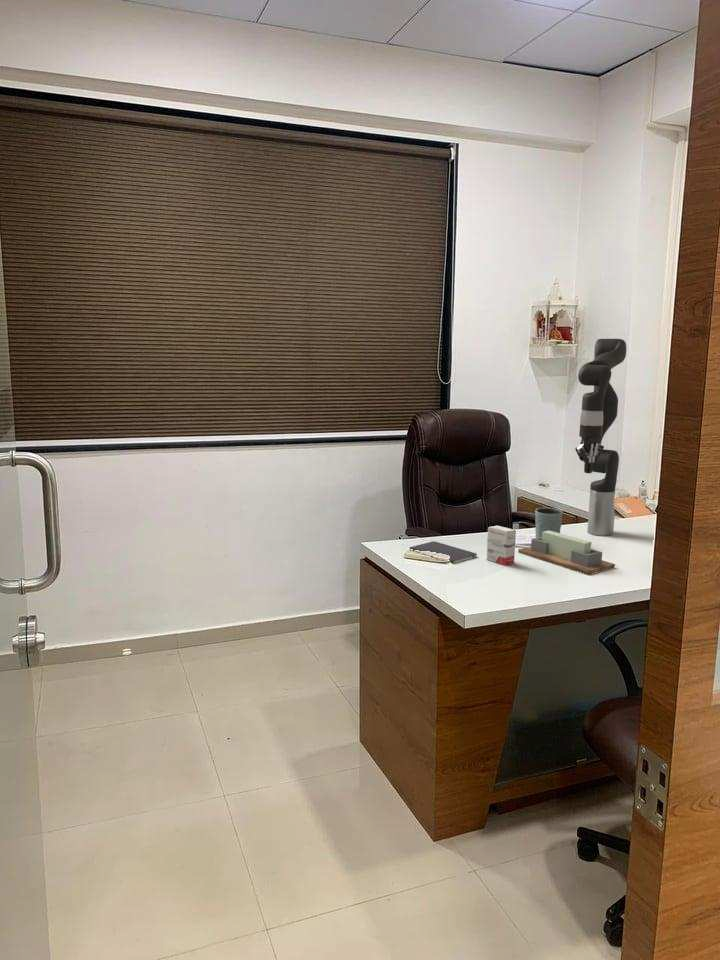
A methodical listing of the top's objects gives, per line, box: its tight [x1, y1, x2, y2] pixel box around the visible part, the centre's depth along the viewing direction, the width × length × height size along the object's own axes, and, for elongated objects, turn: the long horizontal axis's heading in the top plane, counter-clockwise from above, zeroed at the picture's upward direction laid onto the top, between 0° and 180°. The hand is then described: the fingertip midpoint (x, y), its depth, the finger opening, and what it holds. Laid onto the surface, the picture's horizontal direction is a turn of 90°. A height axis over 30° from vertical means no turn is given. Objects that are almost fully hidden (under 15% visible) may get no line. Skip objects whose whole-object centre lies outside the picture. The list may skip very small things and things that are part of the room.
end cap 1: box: [530, 537, 549, 554], centre depth 248 cm, size 7×7×4 cm
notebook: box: [409, 541, 478, 565], centre depth 249 cm, size 13×2×21 cm
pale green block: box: [542, 530, 592, 560], centre depth 241 cm, size 4×18×7 cm, turn 35°
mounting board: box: [517, 546, 616, 576], centre depth 242 cm, size 14×30×1 cm, turn 34°
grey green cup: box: [534, 507, 564, 538], centre depth 263 cm, size 10×10×12 cm
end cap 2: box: [571, 548, 603, 567], centre depth 234 cm, size 7×7×4 cm
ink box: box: [486, 525, 517, 566], centre depth 238 cm, size 8×5×12 cm, turn 39°
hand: (588, 472), depth 245 cm, fingers closed
